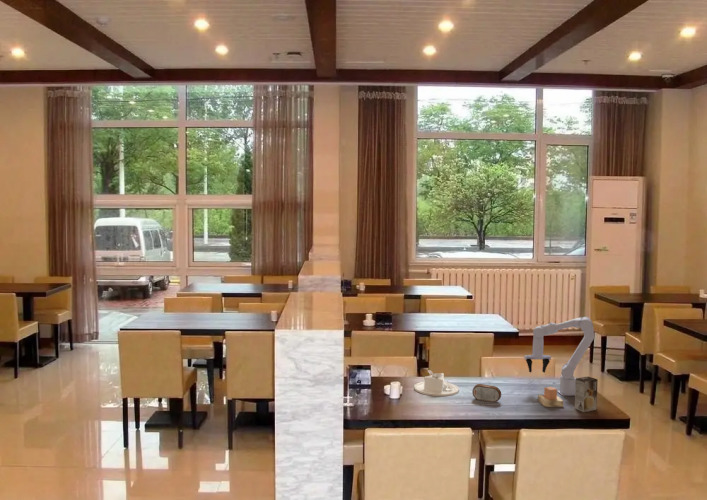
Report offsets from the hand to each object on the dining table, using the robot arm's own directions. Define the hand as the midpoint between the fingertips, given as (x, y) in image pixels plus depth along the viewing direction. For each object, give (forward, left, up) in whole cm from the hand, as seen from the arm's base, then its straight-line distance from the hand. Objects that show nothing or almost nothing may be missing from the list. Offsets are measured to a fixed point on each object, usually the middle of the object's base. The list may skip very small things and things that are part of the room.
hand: (536, 372), depth 361 cm
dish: (+56, -1, -11) cm, 57 cm away
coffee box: (-15, +32, -11) cm, 37 cm away
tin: (+33, +19, -11) cm, 40 cm away
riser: (0, +23, -10) cm, 25 cm away
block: (0, +23, -7) cm, 24 cm away
